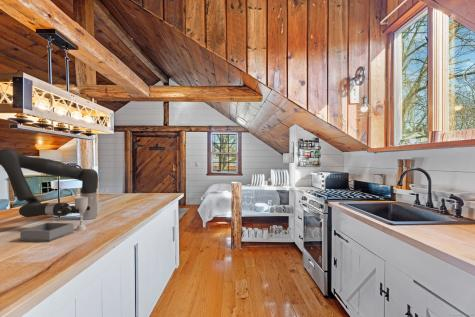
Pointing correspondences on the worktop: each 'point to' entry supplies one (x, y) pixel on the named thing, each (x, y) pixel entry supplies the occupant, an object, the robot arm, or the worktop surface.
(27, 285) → the worktop surface
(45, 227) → the box
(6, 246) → the worktop surface
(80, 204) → the chalice
